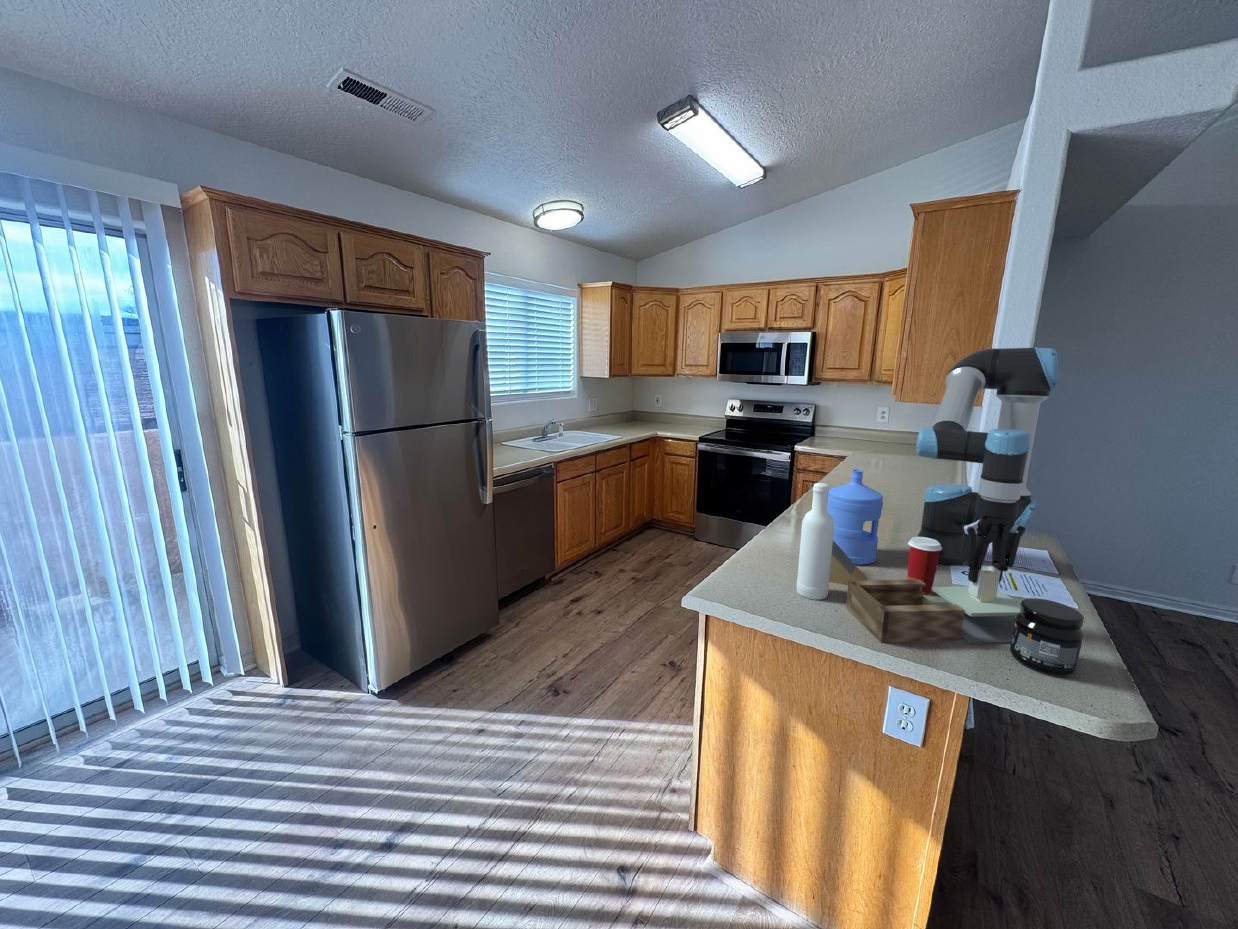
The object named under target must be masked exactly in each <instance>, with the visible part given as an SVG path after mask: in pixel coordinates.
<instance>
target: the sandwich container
mask: <svg viewBox="0 0 1238 929" xmlns="http://www.w3.org/2000/svg"><path fill="white" fill-rule="evenodd" d="M860 580H868V577H867V576H866V575H865V574H864V573H863V572H862V570H861V569H860V568H859V567H858V565H855V564H854V563H853V562H852V561H851V560H850V559H849V557H848V556H847V555H846V554H845V553H844V552H843V551H842V550H841V548H840V547H839V546H838V545H837V544H836V543H835V542H834V541H833V545H832V555H831V565H830V576H829V583H832V584H839V585H844V586H848V582H849V581H860Z"/></svg>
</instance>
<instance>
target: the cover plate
mask: <svg viewBox="0 0 1238 929" xmlns="http://www.w3.org/2000/svg"><path fill="white" fill-rule="evenodd" d="M981 570H983V571H984V575H983V581H982V587H981V593H980V597H976V596H974V595H972V594H971V593H969V592H968V589H969V585H968V586H967V585H966V586H962V585H961V586H932V590H931V592H934V593H936V595H938V596H940V597H941V598H943V599H944V600H945V601H946V602H950V603H952V604H953V605H958V606H960V607H961V608H963V609H964V610H965V613H966V614H968V615H969V616H1009V617H1012V616H1013V617H1015V616H1016V614H1017V613H1019V612H1020V606H1021V602H1019V601H1018V600H1016V599H1014V598H1013V597H1011V596H1009V595H1007V594H1005V593H1003V592H1002V591H1000V590H998V589H997V595H996V597H994V595H995V589H996V584H997V578H998V573H996V572H994V571H992V570H990V569H988V567H984V568H983V567H982V568H981Z"/></svg>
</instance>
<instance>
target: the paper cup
mask: <svg viewBox="0 0 1238 929" xmlns="http://www.w3.org/2000/svg"><path fill="white" fill-rule="evenodd" d="M907 545H908V546H909V547H908V561H907V562H908V563H907V579H906V580H921V581H922V582H924V583H925V584H926V586H925V587H920V590H921V591H922V592H924V594H923V595H930V594H931V593H932V587H934V580H935V577H936V576H935V575H936V573H937V569H938V565H939V563H938V559H939V554H940V550H942V547H941V544H940V543H939V542H938V541H937V540H934V539H931V538H926V537H917V536H913V537H911V539H909V541H908V542H907Z"/></svg>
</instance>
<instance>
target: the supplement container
mask: <svg viewBox="0 0 1238 929" xmlns="http://www.w3.org/2000/svg"><path fill="white" fill-rule="evenodd" d="M1020 603H1021V606H1020V612H1019V613H1017V614H1016V616H1014V620H1015V625H1014V631H1013V636H1012V641H1011V643H1010V646H1009V651H1010V654H1011V656H1012V657H1013V659H1015V660H1016V661H1018V663H1020V664H1022V665H1024V666H1026V667H1027V668H1030V669H1032V670H1034V671H1037V672H1039V673H1042V674H1046V675H1052V676H1061V677H1062V676H1063V677H1064V676H1070V675H1072V674H1074V673H1075V672H1076V671H1077V669H1078V668H1077V667H1078V661H1079V656H1080V653H1081V647H1082V642H1083V640H1084V638H1085V632H1084V630H1083V628H1082V627H1083V625H1084V619H1085V618H1084V615H1083V614H1082V613H1081V612H1080V611H1078V610H1077V609H1075V608H1073V607H1072V606H1069V605H1067V604H1064V603H1061V602H1058V601H1054V600H1049V599H1044V598H1043V599H1042V598H1037V597H1036V598H1035V597H1034V598H1033V597H1031V598H1025V599H1022V600H1021V602H1020Z"/></svg>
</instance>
